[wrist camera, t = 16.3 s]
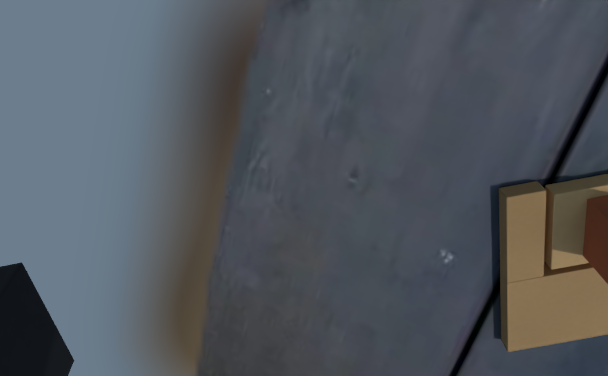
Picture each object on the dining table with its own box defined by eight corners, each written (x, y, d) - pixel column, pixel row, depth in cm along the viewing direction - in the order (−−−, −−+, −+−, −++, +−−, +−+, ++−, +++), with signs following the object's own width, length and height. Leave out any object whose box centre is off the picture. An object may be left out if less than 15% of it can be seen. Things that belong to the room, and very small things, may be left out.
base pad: (501, 339, 56) (507, 352, 54) (498, 187, 48) (506, 197, 46) (658, 311, 55) (669, 323, 54) (683, 152, 47) (698, 161, 45)
